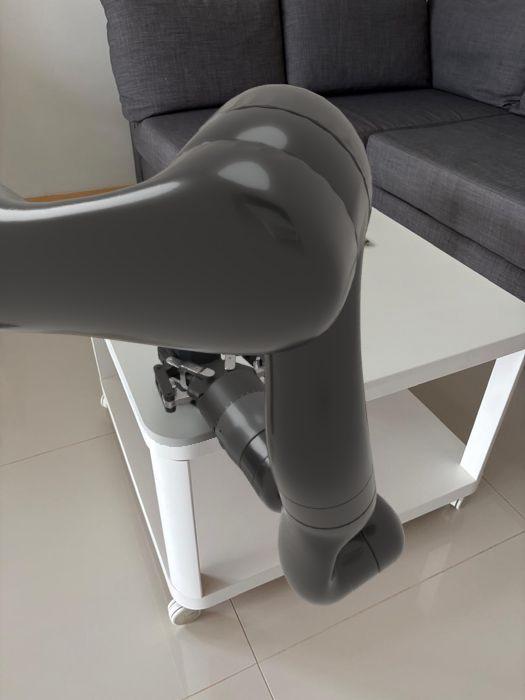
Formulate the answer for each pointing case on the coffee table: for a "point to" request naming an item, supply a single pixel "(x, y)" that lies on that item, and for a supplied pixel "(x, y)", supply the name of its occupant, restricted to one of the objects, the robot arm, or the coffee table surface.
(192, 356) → the sleeve
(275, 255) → the robot arm
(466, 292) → the coffee table surface
